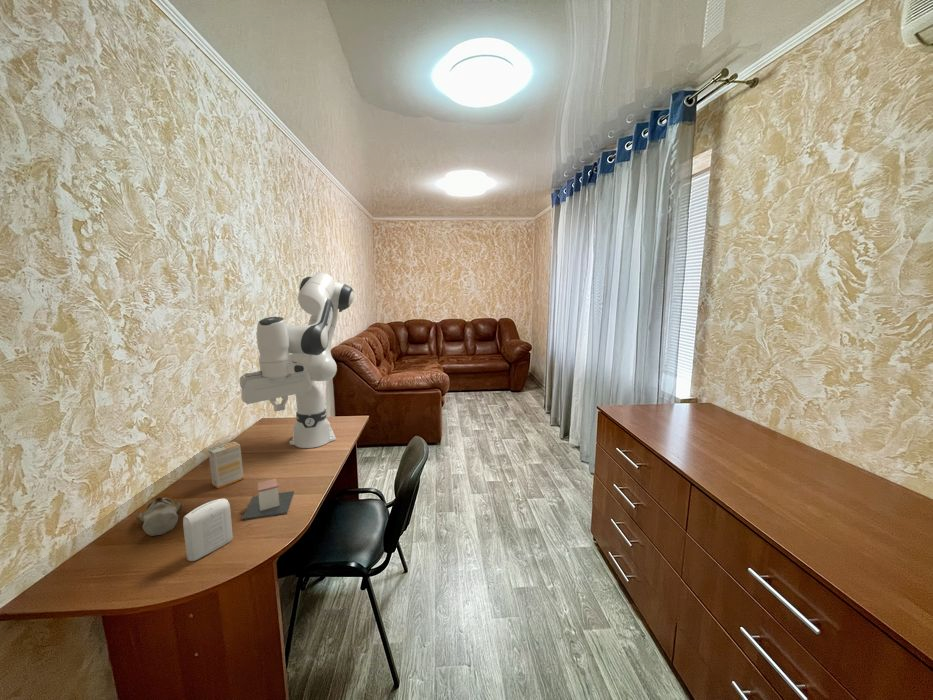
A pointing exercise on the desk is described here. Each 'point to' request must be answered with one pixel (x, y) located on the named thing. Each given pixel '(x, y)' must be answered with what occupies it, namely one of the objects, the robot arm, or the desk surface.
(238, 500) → the desk surface
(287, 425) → the desk surface
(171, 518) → the ceramic sculpture
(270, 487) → the pink and white block
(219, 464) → the supplement box
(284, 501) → the grey square base plate
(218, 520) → the photo printer
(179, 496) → the desk surface
